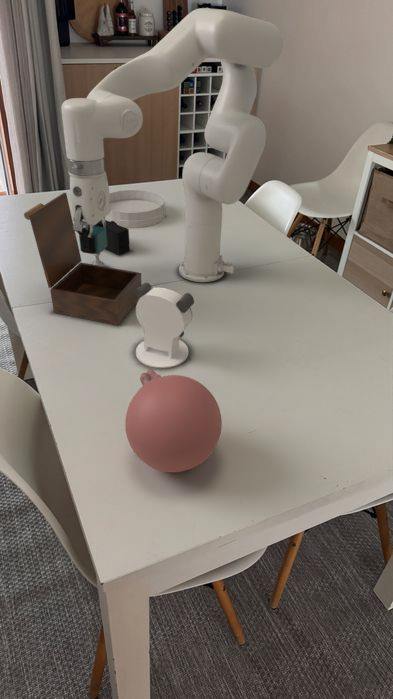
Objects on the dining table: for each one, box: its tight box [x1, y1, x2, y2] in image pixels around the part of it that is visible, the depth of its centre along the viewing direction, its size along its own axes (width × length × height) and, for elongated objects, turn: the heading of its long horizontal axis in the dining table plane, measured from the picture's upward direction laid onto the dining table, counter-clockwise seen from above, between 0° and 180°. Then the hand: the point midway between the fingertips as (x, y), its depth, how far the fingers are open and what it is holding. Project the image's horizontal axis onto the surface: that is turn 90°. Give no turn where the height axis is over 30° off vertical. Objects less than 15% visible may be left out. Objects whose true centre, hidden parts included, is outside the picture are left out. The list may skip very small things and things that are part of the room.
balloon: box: [124, 368, 223, 473], centre depth 83 cm, size 15×20×15 cm
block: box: [78, 226, 107, 255], centre depth 114 cm, size 4×4×4 cm
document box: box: [49, 262, 143, 326], centre depth 124 cm, size 17×15×6 cm
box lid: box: [23, 192, 82, 289], centre depth 119 cm, size 17×15×5 cm
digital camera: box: [104, 220, 131, 256], centre depth 150 cm, size 10×5×7 cm, turn 50°
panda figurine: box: [135, 282, 195, 369], centre depth 105 cm, size 12×11×15 cm
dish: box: [105, 189, 166, 229], centre depth 172 cm, size 22×22×5 cm
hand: (94, 247), depth 115 cm, fingers closed on block, 4 cm apart
